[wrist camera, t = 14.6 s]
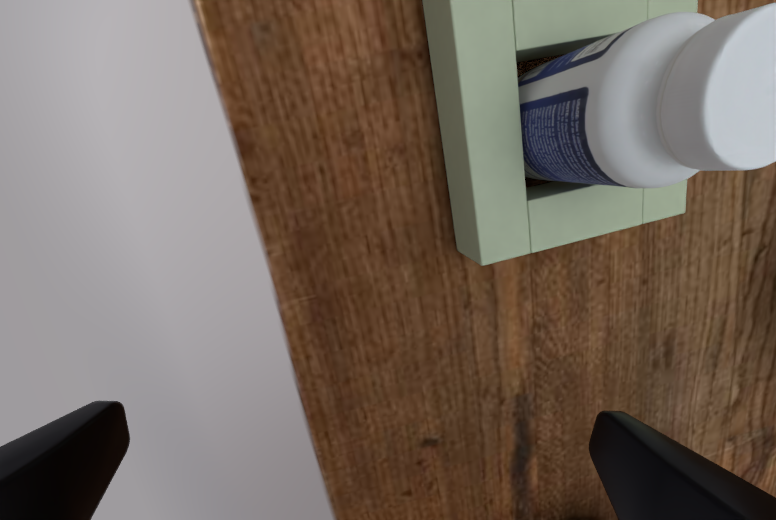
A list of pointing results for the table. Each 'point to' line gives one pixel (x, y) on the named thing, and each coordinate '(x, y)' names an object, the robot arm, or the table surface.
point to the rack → (503, 123)
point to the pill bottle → (655, 102)
